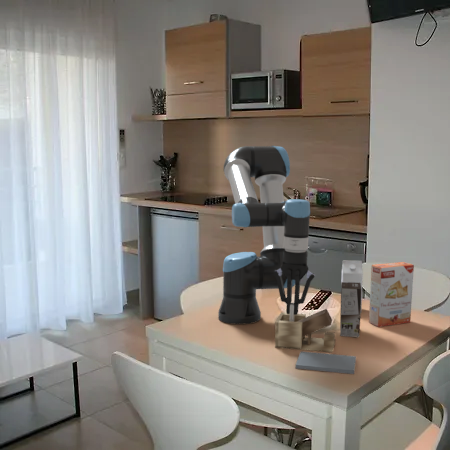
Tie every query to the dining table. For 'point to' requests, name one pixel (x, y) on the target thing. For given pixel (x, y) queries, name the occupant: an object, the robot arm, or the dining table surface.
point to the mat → (326, 362)
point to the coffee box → (350, 309)
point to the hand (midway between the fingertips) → (291, 324)
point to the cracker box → (391, 293)
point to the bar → (315, 322)
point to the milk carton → (352, 273)
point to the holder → (300, 335)
